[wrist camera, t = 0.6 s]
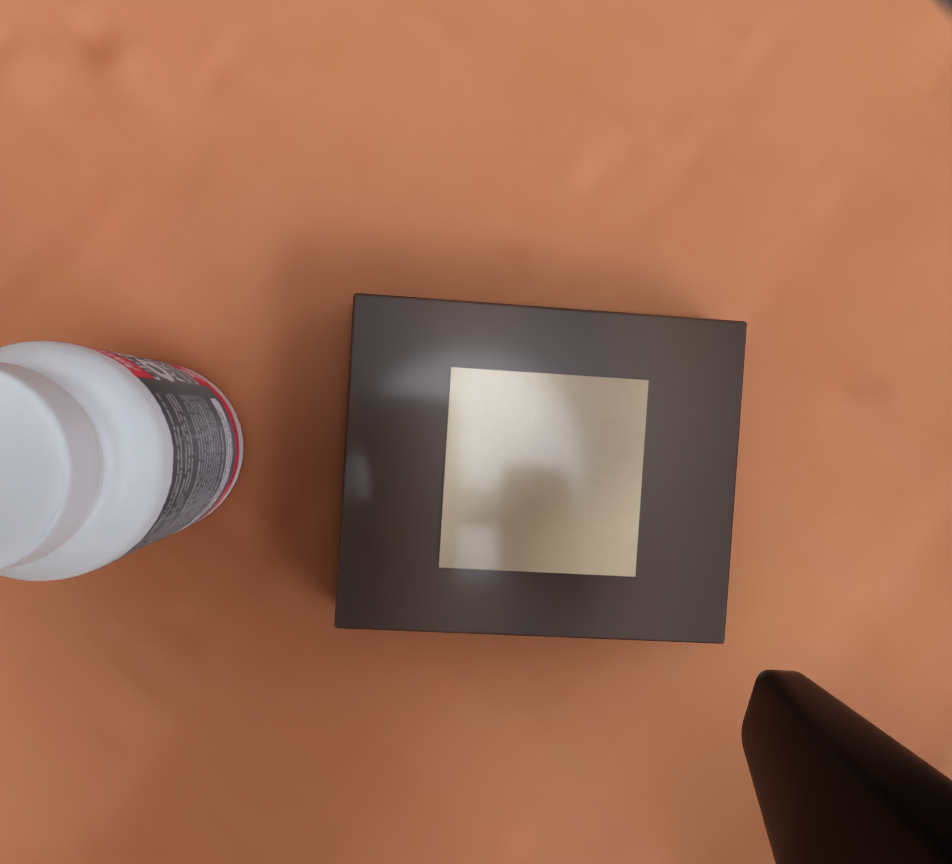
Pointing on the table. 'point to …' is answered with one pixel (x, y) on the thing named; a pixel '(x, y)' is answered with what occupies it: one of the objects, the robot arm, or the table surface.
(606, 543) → the shelf board
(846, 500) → the table surface
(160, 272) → the table surface
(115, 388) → the pill bottle
